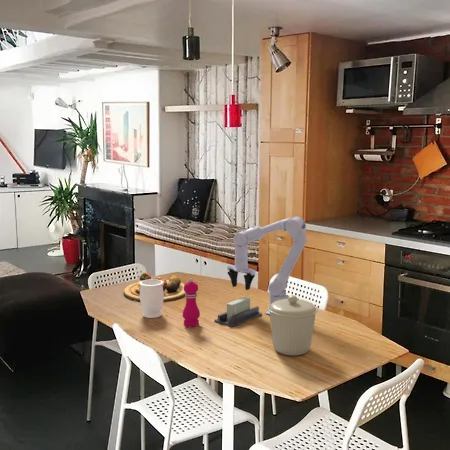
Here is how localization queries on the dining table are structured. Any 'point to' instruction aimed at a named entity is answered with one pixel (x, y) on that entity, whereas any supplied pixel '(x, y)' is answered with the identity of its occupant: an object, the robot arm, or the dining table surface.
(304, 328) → the canister
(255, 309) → the rail
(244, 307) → the sage green block
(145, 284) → the jar
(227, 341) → the dining table surface
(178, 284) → the wooden plate with food
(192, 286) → the pepper mill
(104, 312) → the dining table surface
